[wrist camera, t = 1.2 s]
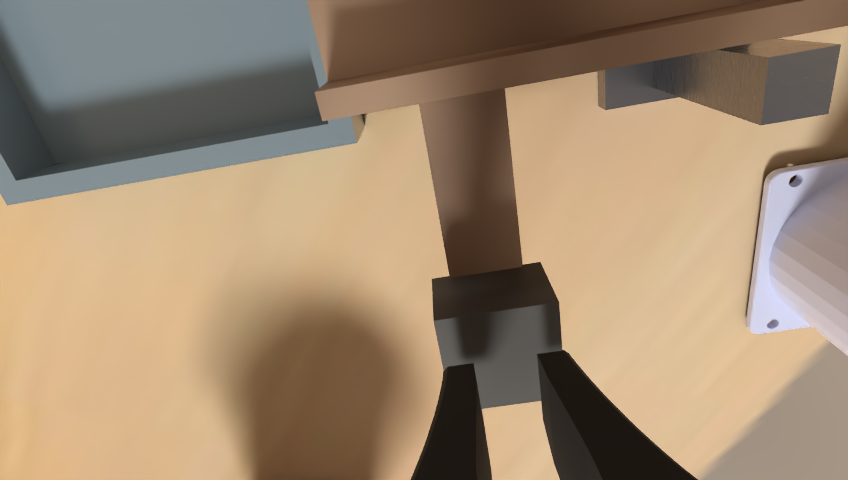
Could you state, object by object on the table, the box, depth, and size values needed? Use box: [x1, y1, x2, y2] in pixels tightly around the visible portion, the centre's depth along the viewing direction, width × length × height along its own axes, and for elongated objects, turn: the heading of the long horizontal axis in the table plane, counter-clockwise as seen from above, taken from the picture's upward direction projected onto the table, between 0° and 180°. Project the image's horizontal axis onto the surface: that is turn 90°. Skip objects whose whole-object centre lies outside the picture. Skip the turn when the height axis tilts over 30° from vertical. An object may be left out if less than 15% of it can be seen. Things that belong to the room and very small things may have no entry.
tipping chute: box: [307, 0, 848, 409], centre depth 10 cm, size 20×17×3 cm
